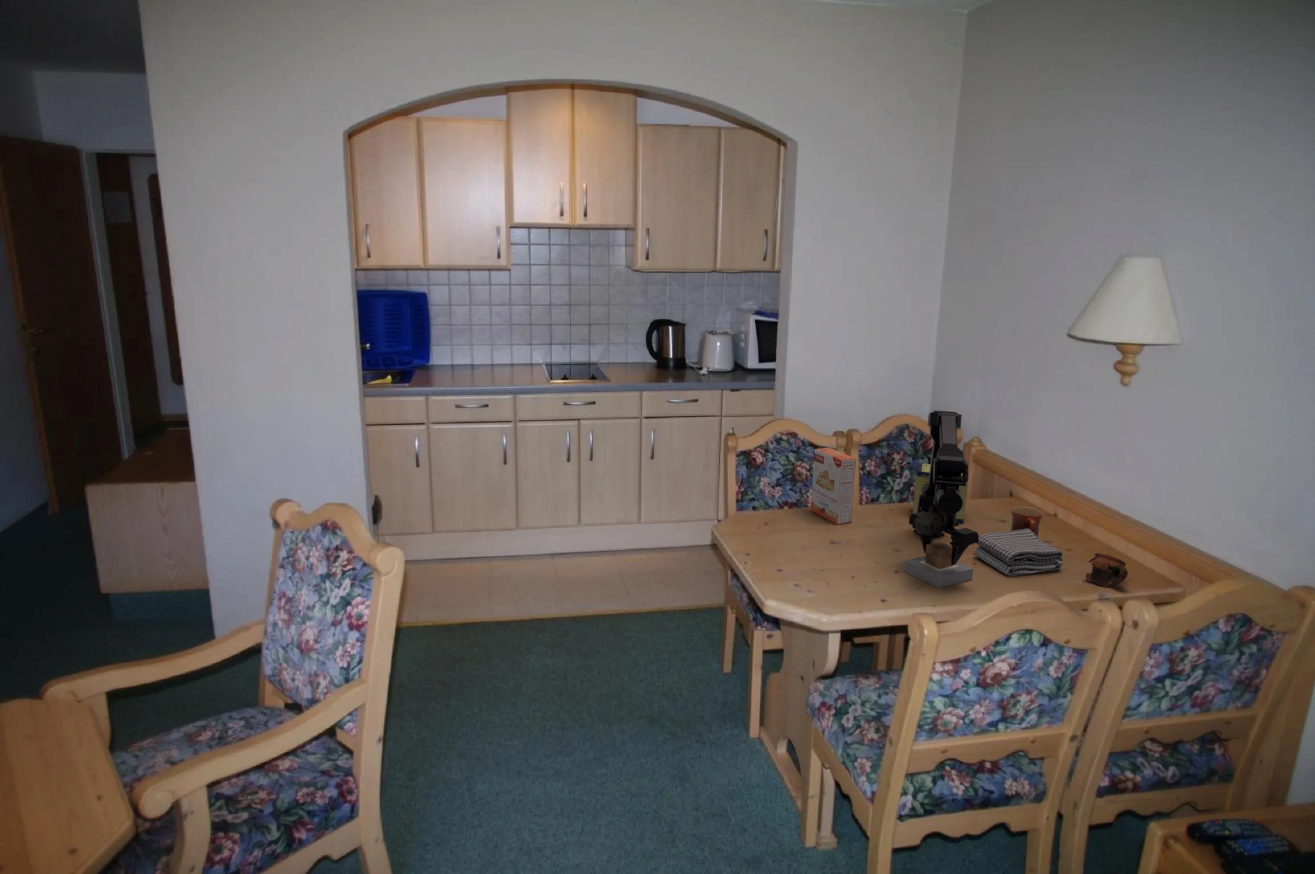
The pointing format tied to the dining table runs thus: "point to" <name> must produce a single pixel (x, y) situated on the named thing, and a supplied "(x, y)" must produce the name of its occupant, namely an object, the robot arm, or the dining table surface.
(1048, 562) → the towel
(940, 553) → the walnut cube
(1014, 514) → the mug
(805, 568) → the dining table surface
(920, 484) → the protein box
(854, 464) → the cracker box
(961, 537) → the robot arm
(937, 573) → the pedestal
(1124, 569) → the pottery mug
